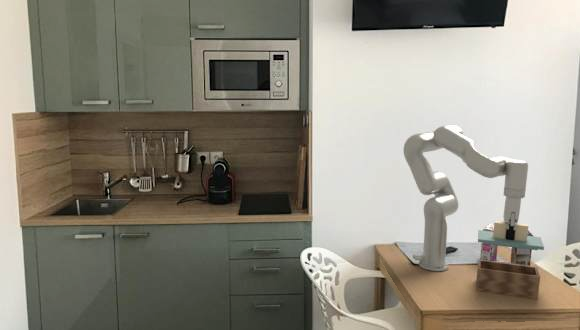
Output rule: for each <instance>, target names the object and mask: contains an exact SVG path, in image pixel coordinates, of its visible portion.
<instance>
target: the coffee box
mask: <svg viewBox="0 0 580 330" xmlns="http://www.w3.org/2000/svg"><path fill="white" fill-rule="evenodd" d="M527 236H534V235H533V233H532V232H530V231H529V230H528V235H527ZM510 252H511V254H510V263H511V264H518V265H526V266H531V263H532V262H531V261H532V252H533V251H532V250H531V249H522V248H514V247H511V251H510Z"/></svg>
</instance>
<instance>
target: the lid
mask: <svg viewBox="0 0 580 330" xmlns="http://www.w3.org/2000/svg"><path fill="white" fill-rule="evenodd" d="M493 224H494V230H493V232H490V231H483V230H479V229H478V230H477V231H478V232H477V242H478V243H481V244H482V243H483V244H489V245H497V246H499V247H508V248H512V247H514V248H522V249H531V250H534V251H539V250H541V251H544V250H545V246H544V243H543V241H542V237H541V236H534V235H533V236H527V235H528V231H529V224H528V223H520V222H518V223H516V225H515V239H514V240H508V239H505V237H506V229H507V225H508V222H507V221H506V222H505V221H504V220H503V221H500V220H494V221H493ZM509 224H510V223H509Z"/></svg>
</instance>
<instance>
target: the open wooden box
mask: <svg viewBox="0 0 580 330" xmlns="http://www.w3.org/2000/svg"><path fill="white" fill-rule="evenodd" d="M540 280H541V276H540V272H539V270H538V267H537V266H535V265H534V266H532V265H530V266H526V265H518V264H511V262H501V261H496V260H495V261H487V260H480V258H479V259H478V260H477V269H476V281H475V282H476V284H475V291H477V292H485V293H492V294H498V295H499V294H500V295H505V296H510V297H511V296H512V297H518V298H526V299H531V300H532V299H533V300H539V293H540V292H539V291H540V283H541V281H540Z"/></svg>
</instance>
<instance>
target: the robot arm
mask: <svg viewBox="0 0 580 330" xmlns="http://www.w3.org/2000/svg"><path fill="white" fill-rule="evenodd" d="M403 144H404V145H403V155H404V158H405V162H406V163H407V165H408V167H409V169H410V171H411V175H412V177H413V179H414V181H415V184H416V187H417V189H418V190H419V192H420V193H421V194H422V195H423V196H431V195H434V196H433V197H430V198H429V199H427V200H426V201H425V202H424V204H423V205H424V206H423V215H424V231H423V232H424V234H423V235H424V236H423V248H422V249H423V252H422V254H414V253H413V254H412V259H414V261H419V262H418V266H419V267H420V268H422V269H424V270H425V271H431V272H444V271H447V270H449V263H448V262H446V253H447V242H448V241H447V240H448V239H447V238H448V223H447V221H446V217H448V216H451V215H453V214H455V213H456V212H457V211H458V208H459V200H458V197H457V195H456V193H455V191H454V189H453V186H452V184H451V181H450V179H449V177H448V176H447V175H446V174H445V173H443V172H442V171H434V170H433V169H432V167H431V164H430V162H429V160H428V159H427V158H426V157H425V156H424V153H427V152H429V153H430V152H433V151H434V152H435V151H437V150H441V149H445V150H446V151H448V152H450V153H452V154H454V155H455V156H456V157H458V158H460V159H461V160H462V162H463V163H464V165H466V167H467V168H469V169H470V170H471V171H474V172H475V173H476V174H478V175H479V176H481V177H483V178H487V179H493V178H498V177H503V176H504V177H505V178H504V187H503V196H504V197H505V199H504V200H505V201H504V209H503V210H504V211H503V222H508V225H507V229H506V237H505V239H508V240H514V239H515V225H516V223H519V218H520V211H521V205H522V204H521V203H522V199H525V197H526V190H527V189H526V187H527V182H528V181H527V179H528V171H529V163H528V162H527V161H525V160H521V159H512V158H510V157H509V158H508V157H505V156H495V157H491V158H490V157H487V156H486V155H484V154H482V153H480V152H479V151H478V150H476V149H475V141H474V140H472V139H471V138H469V137H467V136H465V135H464V133H463V130H462V129H461V128H460V126H457V125H456V124H455V125H453V124H449V125H442V126H440V127H437V128H436V129H435V130H434V131H430V132H422V133H415V134H413V135H411V136H409V137H408V138H407V139H406V140H405V143H403ZM509 223H510V224H509Z"/></svg>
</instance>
